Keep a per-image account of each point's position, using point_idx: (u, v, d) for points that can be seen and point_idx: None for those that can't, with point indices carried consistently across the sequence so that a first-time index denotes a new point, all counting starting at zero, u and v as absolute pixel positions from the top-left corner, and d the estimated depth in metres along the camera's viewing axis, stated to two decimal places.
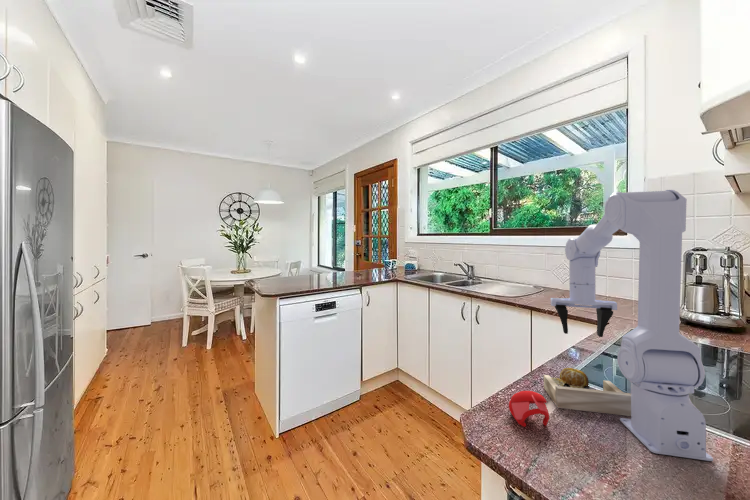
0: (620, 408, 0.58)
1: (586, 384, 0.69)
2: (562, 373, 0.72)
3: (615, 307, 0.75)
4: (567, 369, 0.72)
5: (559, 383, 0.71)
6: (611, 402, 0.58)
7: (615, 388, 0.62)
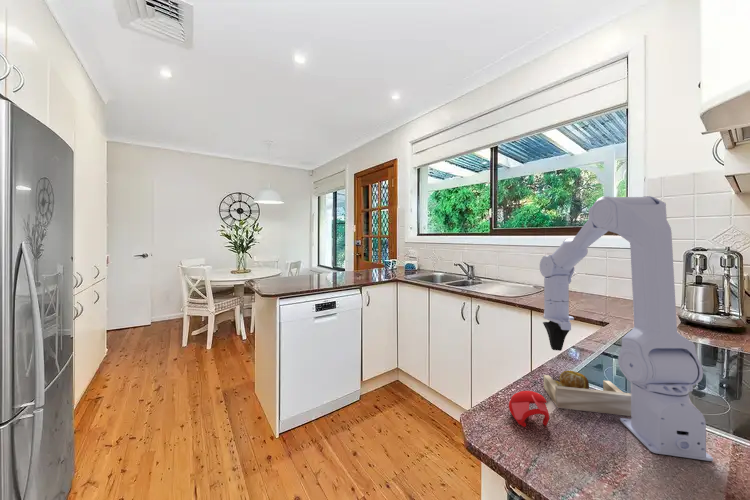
0: (620, 408, 0.58)
1: (586, 388, 0.67)
2: (562, 376, 0.71)
3: (561, 326, 0.73)
4: (567, 372, 0.71)
5: None
6: (611, 402, 0.58)
7: (615, 388, 0.62)
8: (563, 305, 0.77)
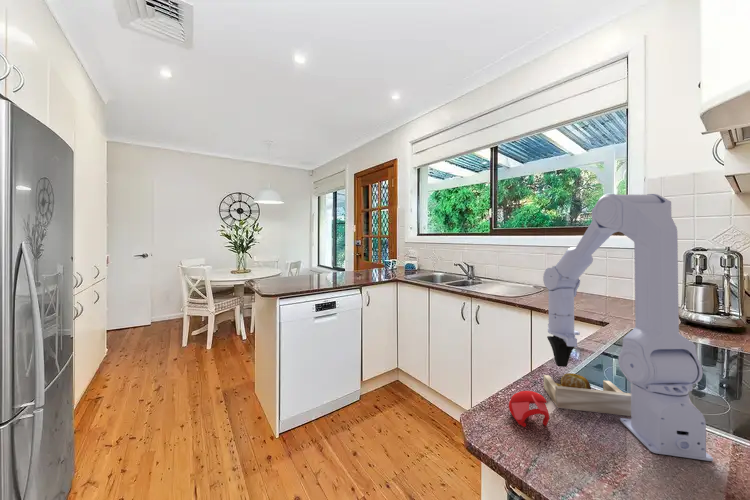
0: (620, 408, 0.58)
1: None
2: (563, 378, 0.69)
3: (567, 343, 0.70)
4: (568, 374, 0.69)
5: None
6: (611, 402, 0.58)
7: (615, 388, 0.62)
8: (568, 319, 0.74)
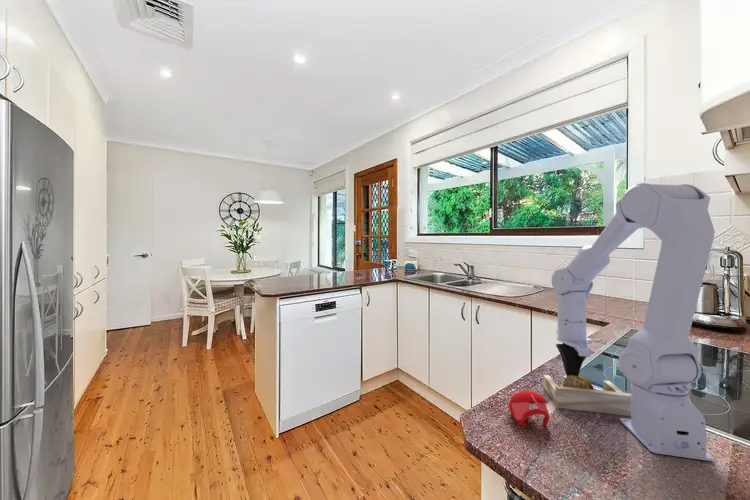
0: (620, 408, 0.58)
1: None
2: (565, 380, 0.68)
3: (579, 352, 0.63)
4: (571, 376, 0.68)
5: None
6: (611, 402, 0.58)
7: (615, 388, 0.62)
8: (580, 326, 0.67)
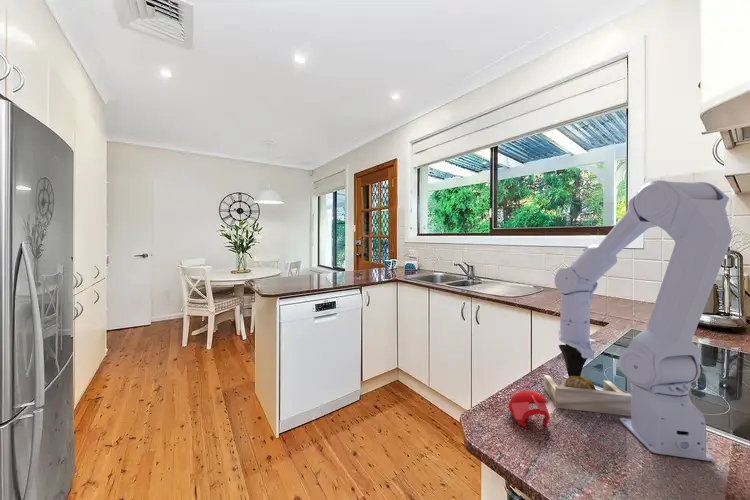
0: (620, 408, 0.58)
1: None
2: (566, 381, 0.67)
3: (582, 354, 0.62)
4: (572, 377, 0.67)
5: None
6: (611, 402, 0.58)
7: (615, 388, 0.62)
8: (583, 327, 0.65)
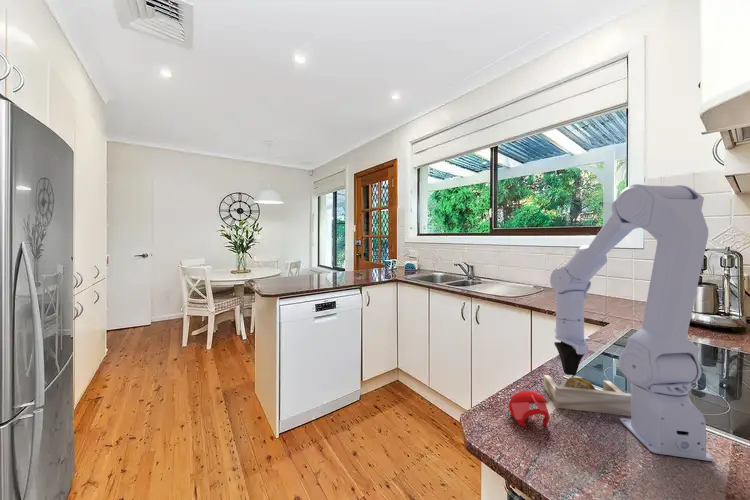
0: (620, 408, 0.58)
1: None
2: (567, 382, 0.67)
3: (577, 350, 0.64)
4: (572, 378, 0.67)
5: None
6: (611, 402, 0.58)
7: (615, 388, 0.62)
8: (578, 325, 0.68)
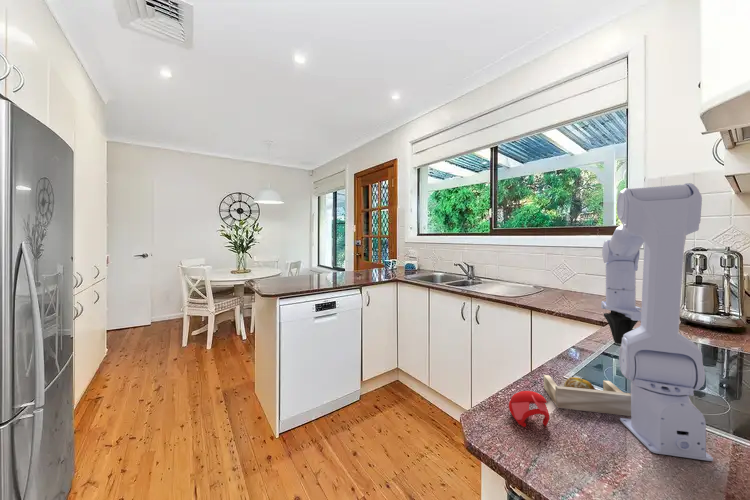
0: (620, 408, 0.58)
1: None
2: (566, 382, 0.67)
3: (632, 317, 0.66)
4: (572, 378, 0.67)
5: None
6: (611, 402, 0.58)
7: (615, 388, 0.62)
8: (630, 294, 0.70)
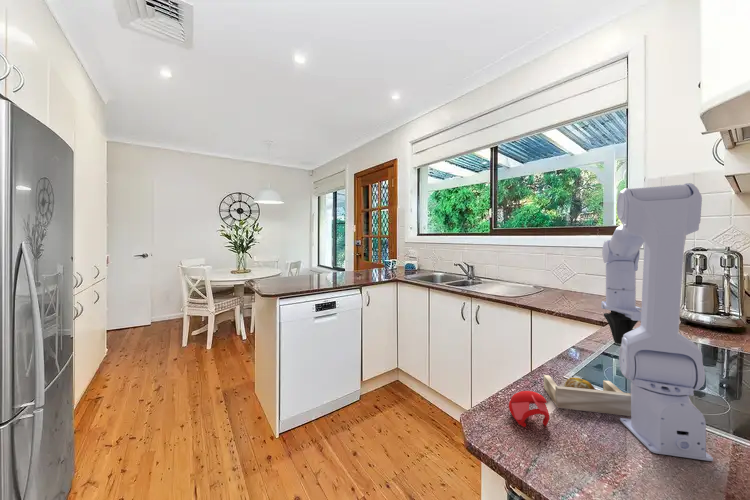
0: (620, 408, 0.58)
1: None
2: (567, 382, 0.67)
3: (632, 317, 0.66)
4: (572, 379, 0.67)
5: None
6: (611, 402, 0.58)
7: (615, 388, 0.62)
8: (630, 294, 0.70)
